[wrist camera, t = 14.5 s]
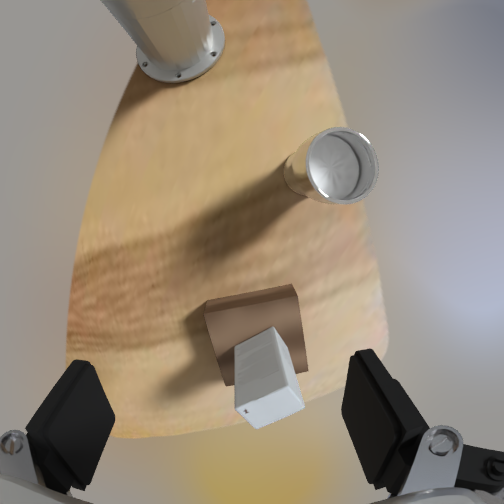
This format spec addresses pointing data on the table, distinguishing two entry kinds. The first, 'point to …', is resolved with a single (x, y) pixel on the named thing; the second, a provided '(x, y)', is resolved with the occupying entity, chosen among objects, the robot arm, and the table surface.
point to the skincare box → (265, 380)
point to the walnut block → (255, 325)
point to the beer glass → (333, 167)
